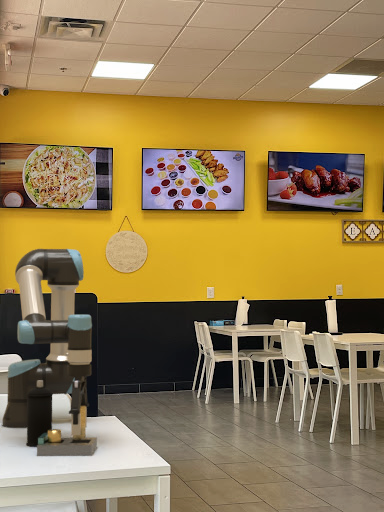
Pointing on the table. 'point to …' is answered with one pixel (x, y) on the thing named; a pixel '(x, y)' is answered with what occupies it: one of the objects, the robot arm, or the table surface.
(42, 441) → the jig
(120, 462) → the table surface
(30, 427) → the aerosol can
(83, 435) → the brass rod
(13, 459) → the table surface
